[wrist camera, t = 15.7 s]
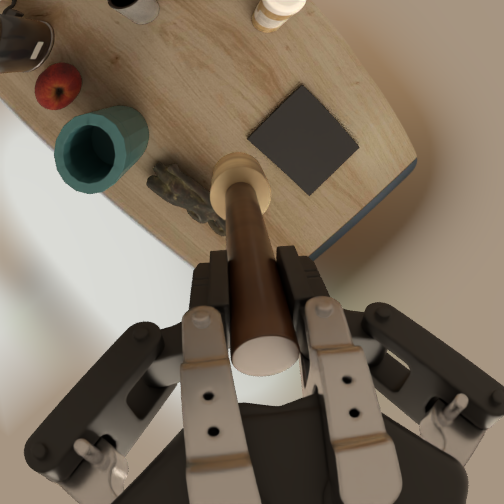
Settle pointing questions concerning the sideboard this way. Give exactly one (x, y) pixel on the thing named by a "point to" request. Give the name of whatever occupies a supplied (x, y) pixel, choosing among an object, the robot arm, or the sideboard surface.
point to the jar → (100, 147)
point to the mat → (304, 140)
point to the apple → (58, 86)
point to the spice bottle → (274, 13)
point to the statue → (185, 195)
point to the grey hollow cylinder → (136, 9)
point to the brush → (252, 270)
